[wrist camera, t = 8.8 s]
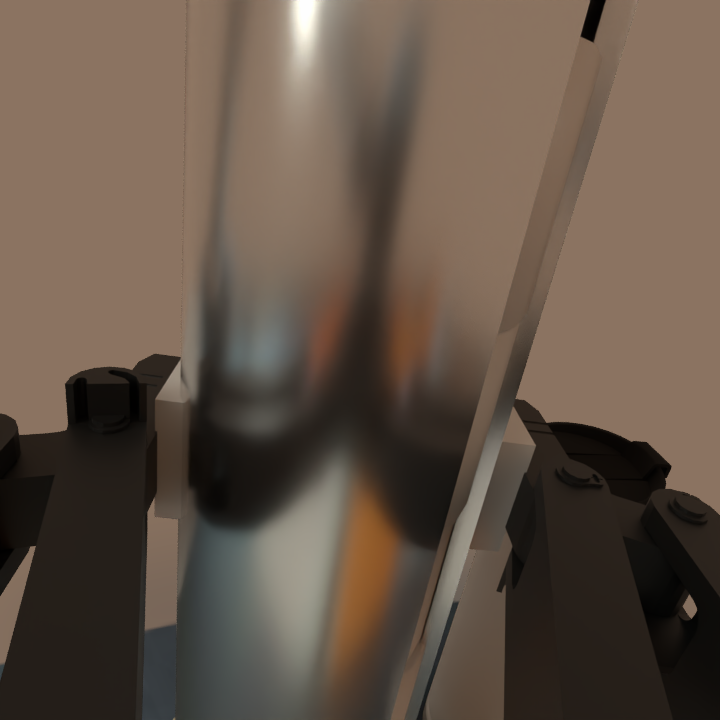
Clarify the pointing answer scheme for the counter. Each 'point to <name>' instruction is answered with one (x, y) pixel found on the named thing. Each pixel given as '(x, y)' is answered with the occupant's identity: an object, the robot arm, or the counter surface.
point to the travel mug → (487, 606)
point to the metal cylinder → (360, 323)
